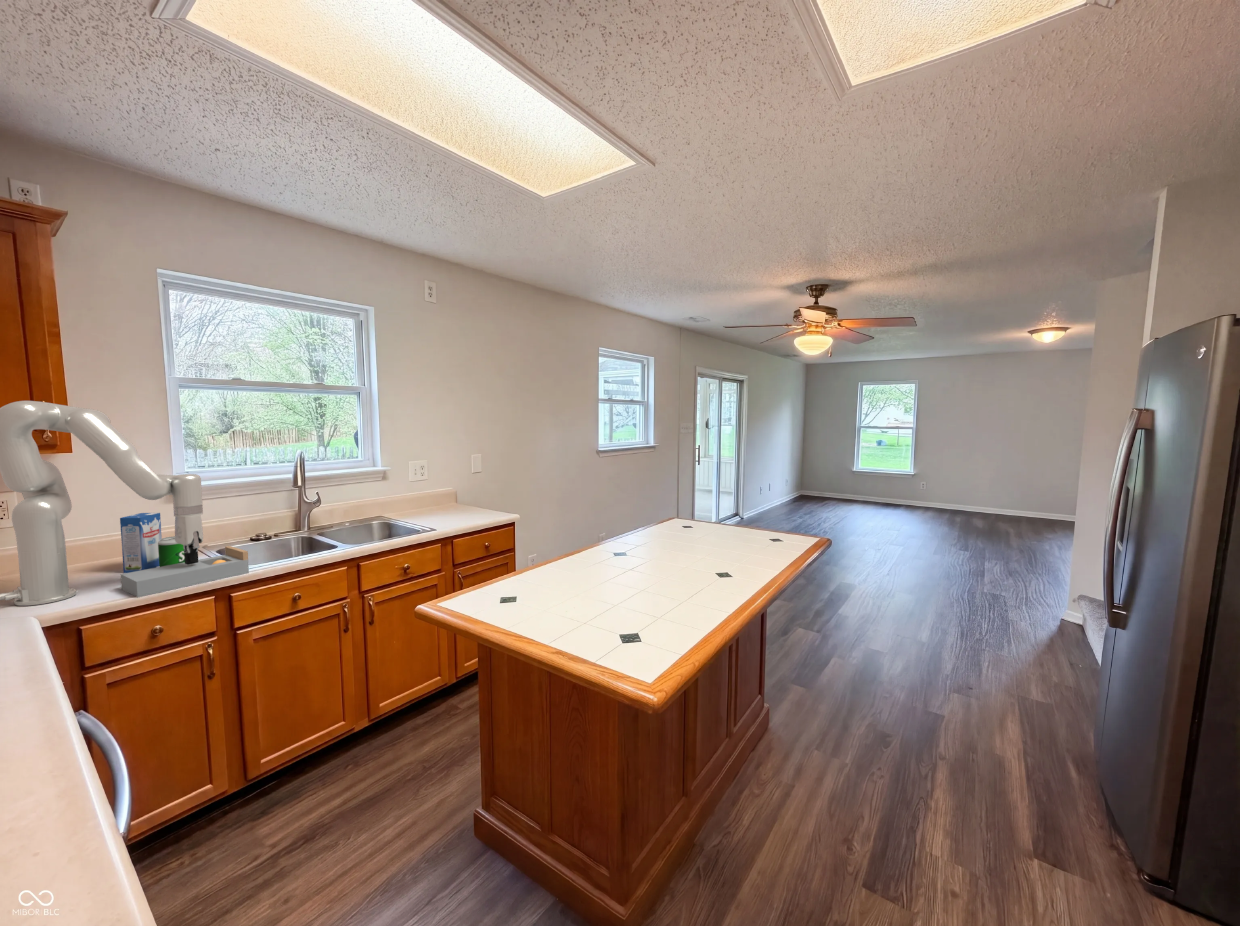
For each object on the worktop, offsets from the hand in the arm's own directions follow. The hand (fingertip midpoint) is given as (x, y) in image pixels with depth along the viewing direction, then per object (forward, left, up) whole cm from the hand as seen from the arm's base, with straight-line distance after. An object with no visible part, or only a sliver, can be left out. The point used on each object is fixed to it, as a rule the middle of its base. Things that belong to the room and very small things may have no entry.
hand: (191, 563), depth 171 cm
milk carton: (-4, +30, -6) cm, 31 cm away
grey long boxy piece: (-1, 0, -6) cm, 6 cm away
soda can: (+1, +19, -6) cm, 20 cm away
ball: (+8, 0, -3) cm, 8 cm away
